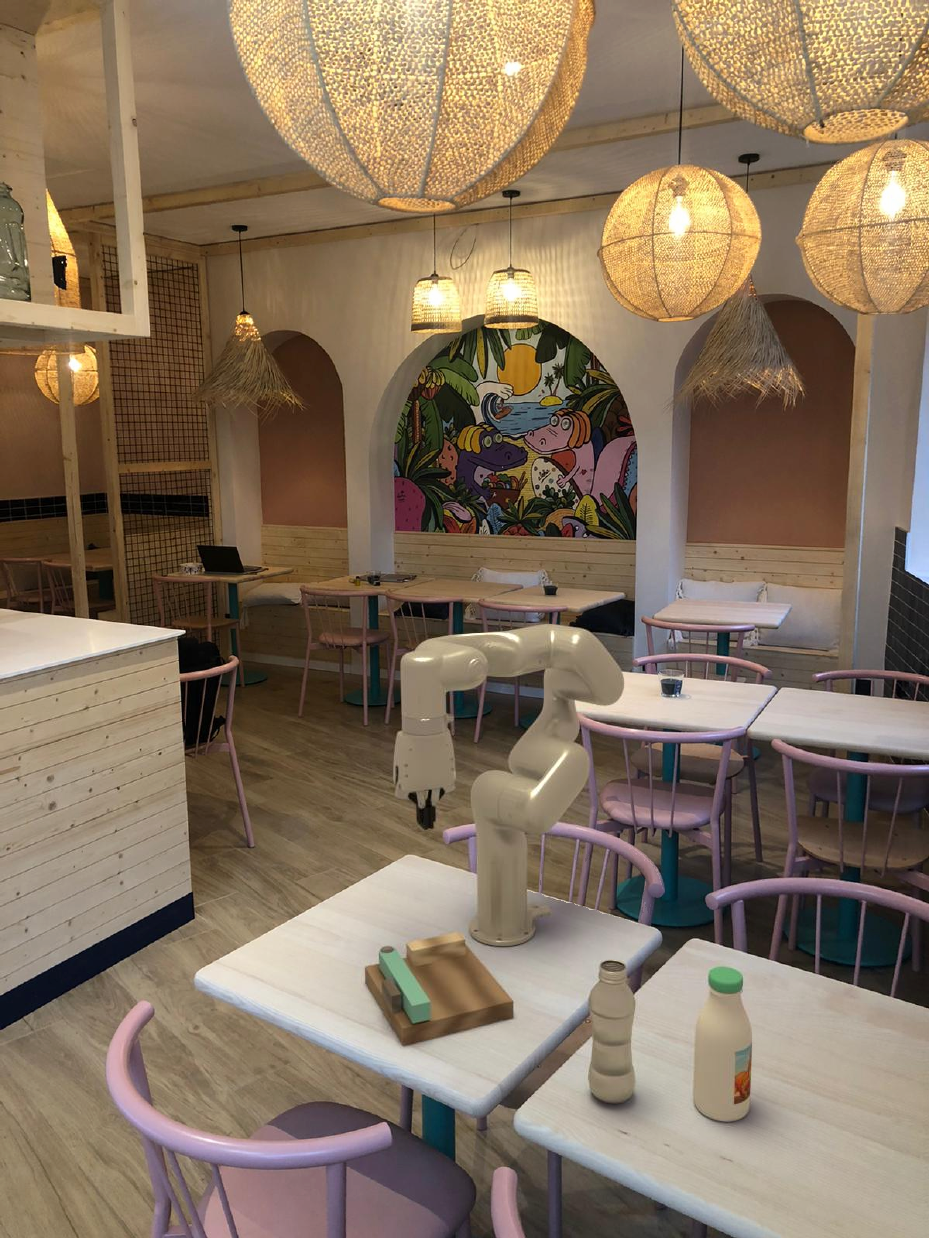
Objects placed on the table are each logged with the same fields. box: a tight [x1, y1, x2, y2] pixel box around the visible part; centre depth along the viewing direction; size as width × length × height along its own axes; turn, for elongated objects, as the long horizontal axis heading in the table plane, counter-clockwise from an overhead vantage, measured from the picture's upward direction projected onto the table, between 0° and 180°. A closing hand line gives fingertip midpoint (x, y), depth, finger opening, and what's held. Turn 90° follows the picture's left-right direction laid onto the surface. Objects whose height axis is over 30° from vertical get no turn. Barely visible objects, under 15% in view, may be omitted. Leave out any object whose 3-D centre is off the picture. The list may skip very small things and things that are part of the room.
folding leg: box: [378, 945, 431, 1023], centre depth 161 cm, size 19×3×3 cm, turn 22°
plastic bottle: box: [587, 959, 637, 1105], centre depth 138 cm, size 6×7×20 cm
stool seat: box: [364, 931, 514, 1047], centre depth 164 cm, size 19×20×6 cm
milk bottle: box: [692, 966, 753, 1123], centre depth 136 cm, size 8×8×20 cm
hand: (426, 826), depth 169 cm, fingers closed
